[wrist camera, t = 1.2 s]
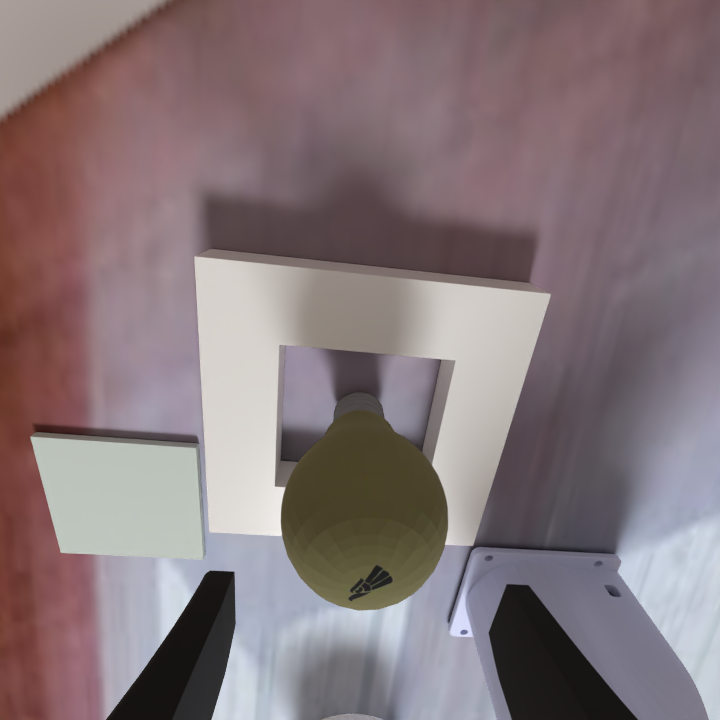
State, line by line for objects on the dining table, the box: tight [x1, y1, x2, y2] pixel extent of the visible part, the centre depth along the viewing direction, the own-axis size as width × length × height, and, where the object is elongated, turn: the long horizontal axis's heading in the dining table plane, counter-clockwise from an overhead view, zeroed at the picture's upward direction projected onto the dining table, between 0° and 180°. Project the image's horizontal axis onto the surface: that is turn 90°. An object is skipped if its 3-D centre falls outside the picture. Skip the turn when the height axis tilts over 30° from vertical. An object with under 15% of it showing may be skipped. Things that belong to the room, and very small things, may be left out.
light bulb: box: [281, 392, 448, 610], centre depth 15 cm, size 6×6×10 cm
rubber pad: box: [31, 432, 205, 559], centre depth 22 cm, size 8×8×1 cm
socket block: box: [194, 249, 551, 546], centre depth 19 cm, size 14×14×2 cm
